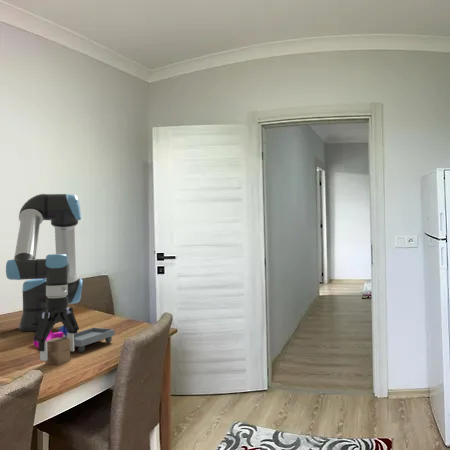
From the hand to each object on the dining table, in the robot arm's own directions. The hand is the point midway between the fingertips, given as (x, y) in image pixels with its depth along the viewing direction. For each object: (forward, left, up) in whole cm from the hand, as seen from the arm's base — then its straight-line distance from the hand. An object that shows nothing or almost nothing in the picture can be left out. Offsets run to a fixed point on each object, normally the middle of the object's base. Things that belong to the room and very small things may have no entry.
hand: (57, 355), depth 167 cm
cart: (-4, +22, -2) cm, 22 cm away
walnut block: (0, 0, -2) cm, 2 cm away
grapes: (-17, +24, -3) cm, 30 cm away
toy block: (-18, +14, -3) cm, 23 cm away
